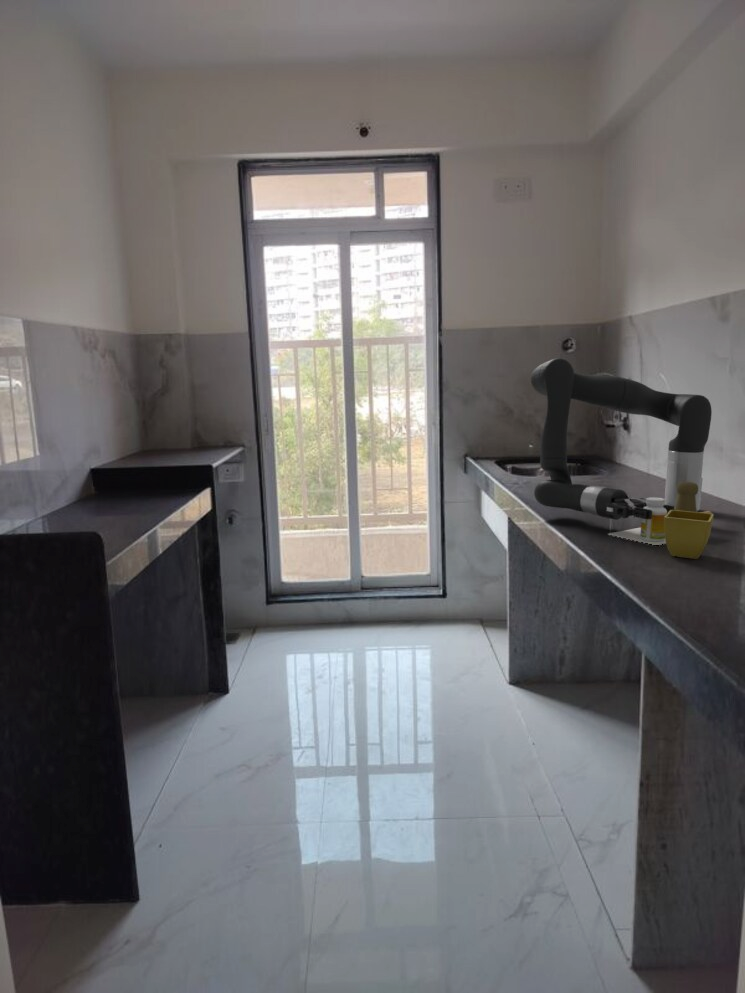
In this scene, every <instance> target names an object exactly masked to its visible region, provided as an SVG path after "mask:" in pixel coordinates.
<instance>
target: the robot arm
mask: <svg viewBox="0 0 745 993" xmlns="http://www.w3.org/2000/svg"><path fill="white" fill-rule="evenodd" d="M530 383H531V386H532V387H533V389H534V390H535V391H536V392H537V393H538V394H540V395H542V396H545V397H546V399H547V400H546V401H547V408H546V414H545V415H546V416H545V421H544V424H543V429H542V432H541V437H540V442H539V443H540V445H539V448H540V451H539V452H540V453H539V454H540V458H539V464H540V468H541V469H542V470H543V471H546V472H548V473H549V477H550V479H545V480H542V481H539V482H538V483H537V484H536V486H535V487H534V498H535V499H536V501H537V503H539V504H540V505H541V506H544V507H549V508H551V507H552V508H560V509H570V510H573V511H577V512H581V513H585V514H586V513H587V514H589V515H592V516H596V517H599V518H600V517H601V518H606V519H610V520H616V521H617V520H620V519H622V518H624V519H628V518H632V519H634V518H638V519H642V518H643V519H651V518H652V510H649V509H644V507H646V506H647V504H646V498H643V497H640V498H637V497H628V494H627V492H626V491H625V490H622V489H619V488H614V487H613V488H612V487H606V486H600V485H599V486H598V485H587V484H583V483H582V484H579V483H578V484H577V483H575V484H573V482H572V478H571V474H570V473H571V472H570V470H569V467H568V425H569V416H570V408H571V400H575V401H580V402H582V403H585V404H589V405H592V406H596V407H599V408H604V409H606V410H610V411H616V412H619V413H624V414H630V415H638V416H648V417H651V418H654V419H655V418H656V419H658V420H661V421H664V422H666V423H670V424H671V425H674V426H677V427H678V432H677V434H676V436H675V437H674V438H673V439H671V440H669V441H668V449H667V450H668V451H667V464H666V474H665V475H666V476H665V478H666V479H665V489H664V490H665V491H664V499H665V504H664V506H663V508H665V509H666V510H667V514H668V512H669V511H670V510H675V506H676V502H677V498H678V493H677V490H676V487H677V485H678V483H680V482H692V483H696V484H697V486H698V493H697V494H696V495H695V497H696V512H699V511H700V509H701V498H702V490H703V488H702V487H703V477H702V475H703V474H702V473H703V464H704V462H703V461H704V454H705V453H704V452H705V446H706V445H707V442H708V440H709V435H710V428H711V424H712V423H711V421H712V412H713V411H712V410H713V409H712V404H711V402H710V400H709V398H707V397H706V396H704V395H701V394H691V393H690V394H689V393H688V394H686V393H685V394H684V393H683V394H682V393H679V394H678V393H669V392H665V391H658V390H654V389H653V388H650V387H649V386H647V385H646V384H643V383H641V382H639V381H637V380H633V379H629V378H625V377H622V376H621V377H620V376H616V375H606V374H605V375H604V374H603V375H602V374H583V373H577V372H574V368H573V365H572V364H571V363H570V362H569V361H568V360H567V359H564V358H561V357H557V358H553V359H550V360H547V361H545V362H544V363H541V364H540V365H538V366H537V367H535V369H534V370H533V371H532V373H531V375H530Z"/></svg>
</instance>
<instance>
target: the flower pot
mask: <svg viewBox="0 0 745 993" xmlns="http://www.w3.org/2000/svg"><path fill="white" fill-rule="evenodd" d="M700 512H701V511H700ZM700 512H699V511H698V512H690V511H680V510H670V511H669V512H668V514H667V515H666V516H665V517H664V522H665V540H666V544H665V545H666V547H667V549H668V551H669V553H670V555H671V556H672V557H675V556H677V557H679V558H686V559H691V560H692V559H693V560H698V559H699V558H700V556H701V555H702V553H703V551H704V549H705V547H706V545H707V543H708V540H709V539H710V535H711V532H712V526H713V521H714V517H715V516H714V515H715V514H714V513H712V514H710V513H700ZM677 557H676V558H677Z"/></svg>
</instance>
